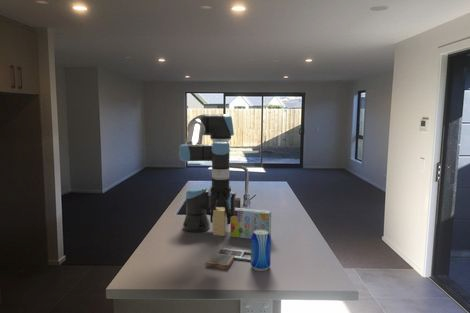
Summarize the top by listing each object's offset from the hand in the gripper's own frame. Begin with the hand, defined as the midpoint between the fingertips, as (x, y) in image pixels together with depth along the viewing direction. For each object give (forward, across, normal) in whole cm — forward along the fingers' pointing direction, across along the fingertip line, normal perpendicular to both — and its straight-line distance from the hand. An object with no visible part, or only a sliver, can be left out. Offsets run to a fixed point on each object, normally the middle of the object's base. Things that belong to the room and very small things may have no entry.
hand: (220, 230), depth 154 cm
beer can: (+15, +18, +1) cm, 24 cm away
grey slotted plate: (+15, +7, +10) cm, 20 cm away
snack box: (+15, +6, +35) cm, 39 cm away
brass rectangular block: (+1, 0, 0) cm, 1 cm away
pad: (+15, 0, 0) cm, 15 cm away
